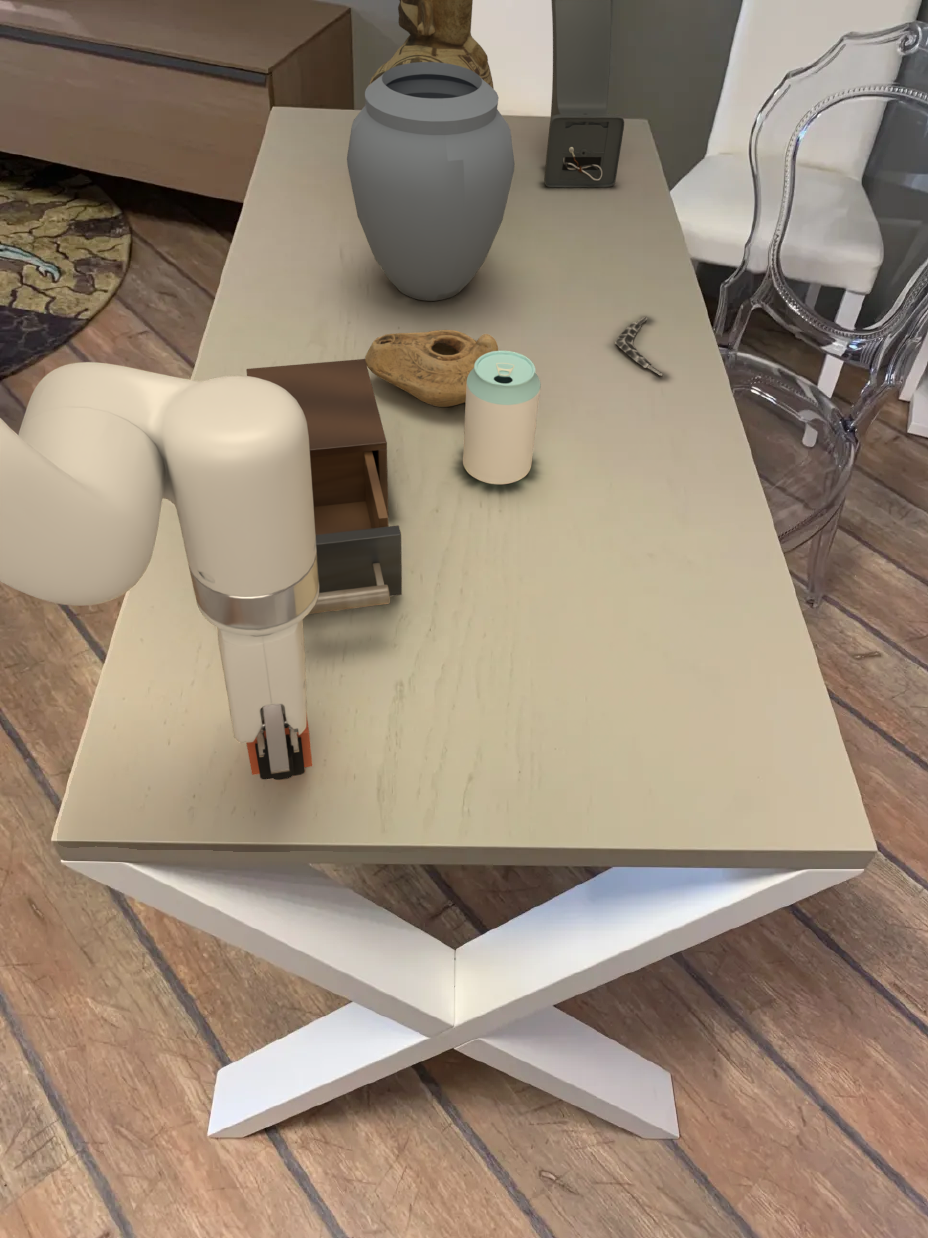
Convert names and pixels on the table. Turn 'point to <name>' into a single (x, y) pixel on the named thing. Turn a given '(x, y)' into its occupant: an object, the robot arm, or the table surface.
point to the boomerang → (627, 346)
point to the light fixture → (582, 98)
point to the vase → (430, 175)
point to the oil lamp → (429, 363)
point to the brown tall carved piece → (438, 37)
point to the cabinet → (335, 408)
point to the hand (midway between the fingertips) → (279, 743)
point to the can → (500, 417)
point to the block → (304, 737)
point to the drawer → (353, 534)
